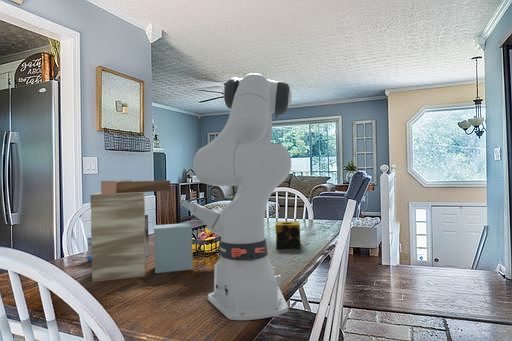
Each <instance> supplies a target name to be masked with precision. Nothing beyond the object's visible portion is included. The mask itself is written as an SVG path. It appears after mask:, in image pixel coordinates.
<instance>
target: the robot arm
mask: <svg viewBox="0 0 512 341" xmlns="http://www.w3.org/2000/svg"><path fill="white" fill-rule="evenodd" d="M222 96H223V100H224V104H225V106H226V107H227V108H228V109H230V112H229V116H228V118H227V121H226V124H225V126H224V127H223V128H222V130H221V131H220V133H219V134H218V135H217V136H216V137H215V138H213V140H211V141H210V142H209V143H208V144H206V145H204V146H203V147H201V148H199V149H198V151H196V153H195V155H194V158H193V162H192V168H193V173H194V175H195V177H196V179H197V180H198V181H199V182H200V183H202V184H206V185H211V186H216V187H235V186H237V187H236V190H235V192H234V194H233V196H232V197H231V199H230V202H228V203H227V204H226V205H225V206H224V207H223V208H222V207H221V206H218V207H216V208H214V207H212V208H211V209H209V208H207V207H204V206H203V205H201V204H199V203H197V202H190V201H187V200H185V199H183V198H181V199H180V201H179V204H180V205H181V206H182V207H184V208H186V209H187V210H189V212H190V213H191V214H192V215H193V216H194V217H196V218H197V219H198V220H200V221H201V222H202V223H204V225H206V230H207V231H209V232H210V233H213V234H215V235H217V236H219V237H221V239H220V240H219V255H220V258H219V260H218V261H217V262H216V263H215V264H214V270H213V271H214V275H213V276H214V277H213V280H214V282H213V292H210V293H208V294H207V300H208V301H209V302H210V303H211V304H212V305H213V307H215V308H216V309H218V311H220V313H222V315H224V316H225V317H226V318H227V319H229V320H232V321H233V320H234V321H251V320H261V319H265V318H266V319H267V318H272V317H276V316H279V315H283V314H285V313H287V312H289V306H288V304H287V301H286V299H285V297H284V295H283V293H282V290H281V288H280V286H281V285H282V282H283V281H282V276H281V275H280V274H277V275H276V274H275V273H276V267H275V266H272V262H271V259H270V258H269V257H268V254H269V252H268V244H267V240H266V238H265V220H266V219H265V218H266V216H265V215H266V208H267V205H268V201H269V200H270V197H271V195H272V194H273V192H274V191H275V190H276V189H277V187H279V185H281V184H283V182H285V180H287V178H288V177H289V175H290V172H291V169H292V159H291V155H290V152H289V151H288V149H287V148H286V147H285V146H284V145H283V144H280V143H275V142H272V136H273V135H272V134H273V116H272V115H274V116H275V119H278V117H279V116H282V115H284V114H285V113H286V112H287V111H288V110H289V107H291V103H292V97H293V96H292V90H291V86H290V85H289V84H288V82H284V81H281V80H278V81H275V80H271V79H267V78H266V76H264V75H262V74H260V73H255V72H253V73H248V74H246V75H244V77H243V76H242V78H240V77H238V76H237V77H231V78H230V79H228V80H227V81H226V82H225V85H224V88H223V92H222Z"/></svg>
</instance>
